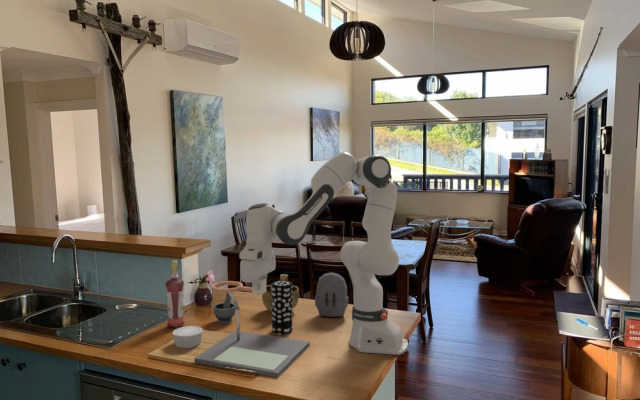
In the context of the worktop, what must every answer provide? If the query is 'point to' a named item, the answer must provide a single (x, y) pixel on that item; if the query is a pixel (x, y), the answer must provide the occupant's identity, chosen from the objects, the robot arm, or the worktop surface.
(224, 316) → the mortar and pestle
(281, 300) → the white-spotted black cylinder
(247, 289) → the ring wand
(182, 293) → the liquor
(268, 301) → the olive round bowl
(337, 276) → the grey rounded bag
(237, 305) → the bent wire
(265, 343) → the wire board
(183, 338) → the ramekin
